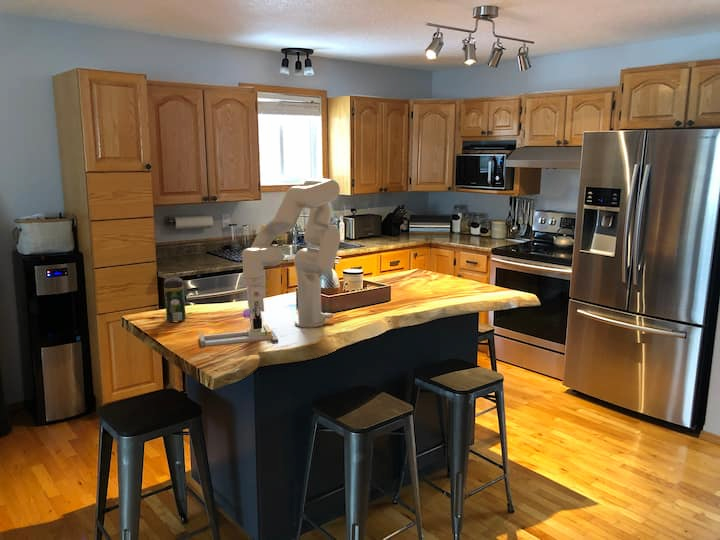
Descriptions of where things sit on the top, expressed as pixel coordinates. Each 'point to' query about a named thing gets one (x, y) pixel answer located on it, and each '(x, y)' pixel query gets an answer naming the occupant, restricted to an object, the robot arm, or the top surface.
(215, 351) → the top surface
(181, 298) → the coffee jar
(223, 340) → the track
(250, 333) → the keeper
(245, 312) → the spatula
